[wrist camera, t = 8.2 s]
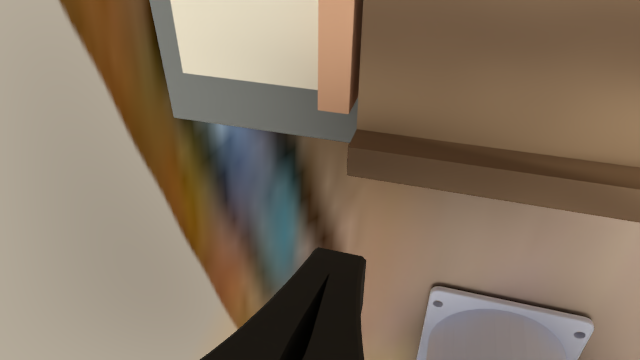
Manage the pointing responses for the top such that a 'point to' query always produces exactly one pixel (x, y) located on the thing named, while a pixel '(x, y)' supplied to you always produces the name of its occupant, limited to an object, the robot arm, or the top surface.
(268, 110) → the slate mat
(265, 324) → the robot arm
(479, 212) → the top surface
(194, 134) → the top surface
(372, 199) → the top surface
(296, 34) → the lid
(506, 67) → the walnut box
